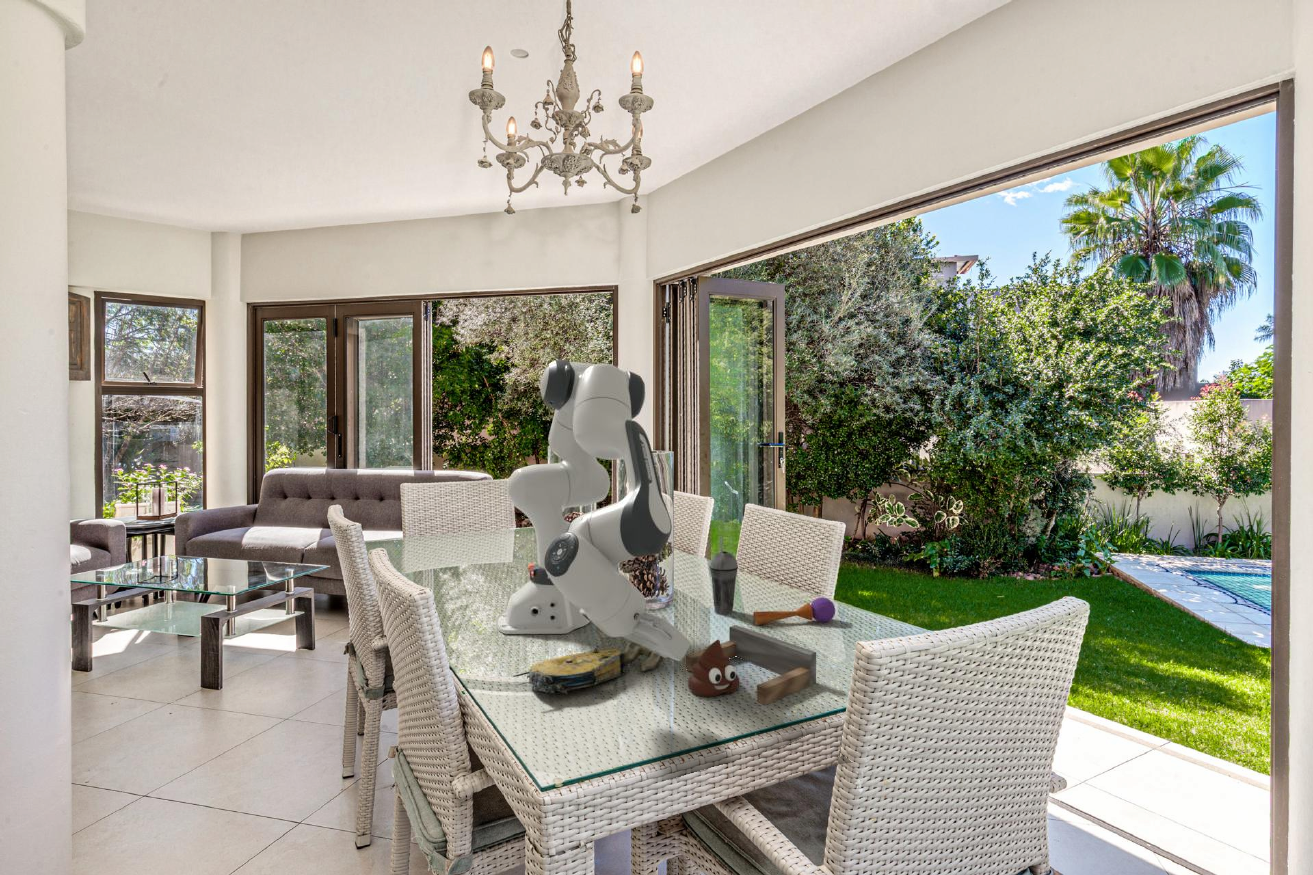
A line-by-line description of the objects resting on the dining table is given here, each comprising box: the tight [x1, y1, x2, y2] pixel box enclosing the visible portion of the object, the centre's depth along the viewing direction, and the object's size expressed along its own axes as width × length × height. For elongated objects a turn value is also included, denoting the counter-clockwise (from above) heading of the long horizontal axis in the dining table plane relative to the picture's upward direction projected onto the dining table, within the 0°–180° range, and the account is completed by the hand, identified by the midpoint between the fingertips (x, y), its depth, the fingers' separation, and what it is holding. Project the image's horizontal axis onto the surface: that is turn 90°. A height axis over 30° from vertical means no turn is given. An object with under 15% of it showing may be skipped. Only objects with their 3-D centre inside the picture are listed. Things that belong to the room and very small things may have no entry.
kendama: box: [752, 596, 836, 626], centre depth 168 cm, size 6×6×20 cm
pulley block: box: [512, 641, 664, 695], centre depth 136 cm, size 14×6×30 cm
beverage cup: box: [709, 534, 739, 616], centre depth 176 cm, size 7×7×20 cm
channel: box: [685, 624, 817, 706], centre depth 136 cm, size 15×21×6 cm
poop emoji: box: [687, 639, 741, 698], centre depth 130 cm, size 10×8×9 cm
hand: (663, 652), depth 121 cm, fingers closed
